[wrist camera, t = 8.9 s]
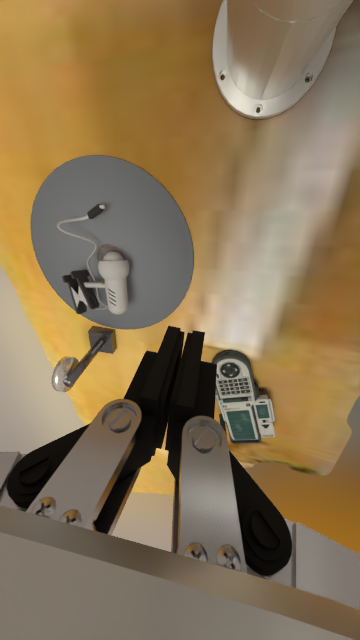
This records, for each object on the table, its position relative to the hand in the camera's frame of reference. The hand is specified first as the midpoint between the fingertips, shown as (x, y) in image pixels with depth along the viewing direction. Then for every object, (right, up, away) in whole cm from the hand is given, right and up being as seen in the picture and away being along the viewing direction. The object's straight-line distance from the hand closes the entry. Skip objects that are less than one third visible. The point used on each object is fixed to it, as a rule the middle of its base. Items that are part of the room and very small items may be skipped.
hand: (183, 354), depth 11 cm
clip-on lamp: (-14, +12, +30) cm, 36 cm away
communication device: (+14, -14, +41) cm, 46 cm away
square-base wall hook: (-17, -2, +39) cm, 43 cm away
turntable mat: (-13, +13, +30) cm, 35 cm away
